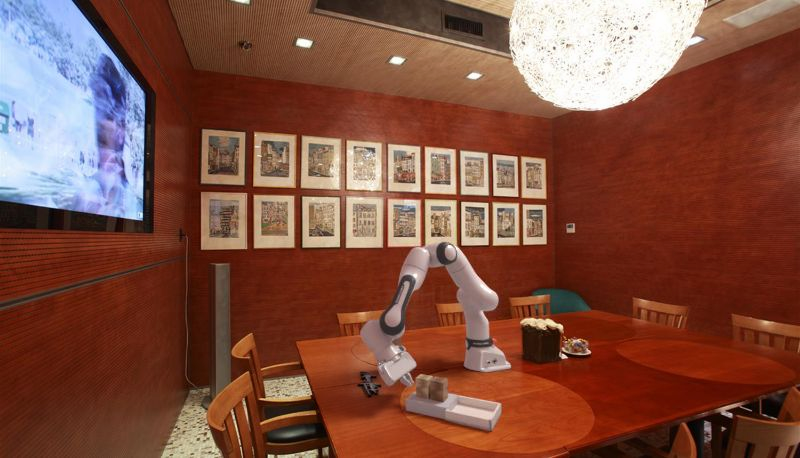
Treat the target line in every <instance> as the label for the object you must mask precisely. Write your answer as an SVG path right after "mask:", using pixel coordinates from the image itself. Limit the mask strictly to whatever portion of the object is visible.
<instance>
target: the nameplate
mask: <svg viewBox="0 0 800 458" xmlns="http://www.w3.org/2000/svg"><path fill="white" fill-rule="evenodd" d="M359 373H360V374H359V375H360V377H361V380H362V381H363V382H361V383H357V387H358V388H361V387H362V388H363V390H364V392H365V394H366V396H367V399H368V398H371V397H372V395H374V396H376V397H377V396H378V395H379V391H380V390H379V388H381V387H382V384H381V383H378V382H377V383H376V382H373V379H374V380H377V378H378V376H377V375H376V374H374V373H373V372H369V371H365V370H364V371H363V370H362V371H360V372H359Z"/></svg>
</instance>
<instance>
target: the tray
mask: <svg viewBox="0 0 800 458" xmlns="http://www.w3.org/2000/svg"><path fill="white" fill-rule="evenodd" d="M502 410H503V409H502V403H500V402H496V401H490V400H486V399H480V398H476V397H469V396H464V395H460V394H458V404H457V406H456V407H455V408H454V409H453V410H452V411H450V410H445V419H444V420H445V422H449V423H453V424H458V425H461V426H467V427H470V428H475V429H480V430H484V431H489V432H492V431H493V430H494V428H495V426H496V424H497V423H498V420H499V419H500V417H501V415H502V413H503V411H502Z"/></svg>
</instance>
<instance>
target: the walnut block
mask: <svg viewBox="0 0 800 458" xmlns="http://www.w3.org/2000/svg"><path fill="white" fill-rule="evenodd" d="M448 380H449V378H447V377H446V378H445V377H440V376H433V379H432V380H431V381H430V383H431V400H434V401H439V402H444V401H445V400H446V399H447V398H448V393H449V381H448Z"/></svg>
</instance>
